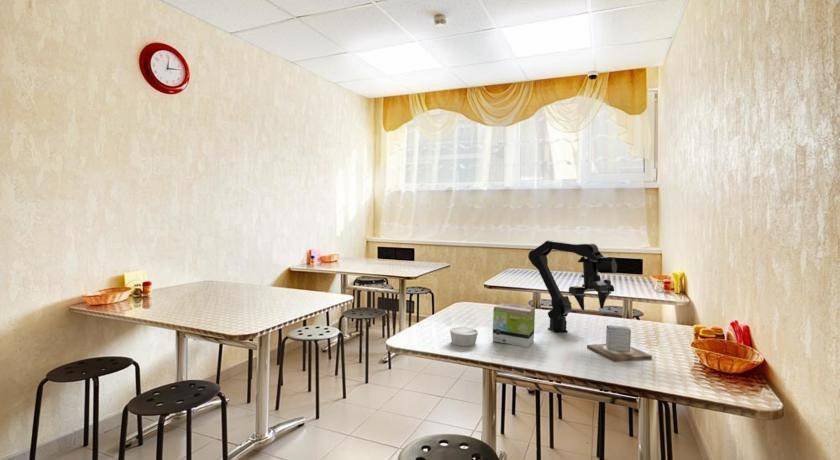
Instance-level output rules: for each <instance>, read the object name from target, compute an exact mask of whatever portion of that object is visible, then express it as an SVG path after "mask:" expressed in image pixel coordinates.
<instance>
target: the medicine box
mask: <svg viewBox="0 0 840 460" xmlns="http://www.w3.org/2000/svg"><path fill="white" fill-rule="evenodd" d="M605 331H606V332H605V333H606V335H605V344H606V347H607V349H608V350H613V351H626V352H630V346H631V342H632V341H631V340H632V338H631V337H632V330H631V329H630V327H628V326H625V325H624V326H623V325H621V326H620V325H606V329H605Z"/></svg>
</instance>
